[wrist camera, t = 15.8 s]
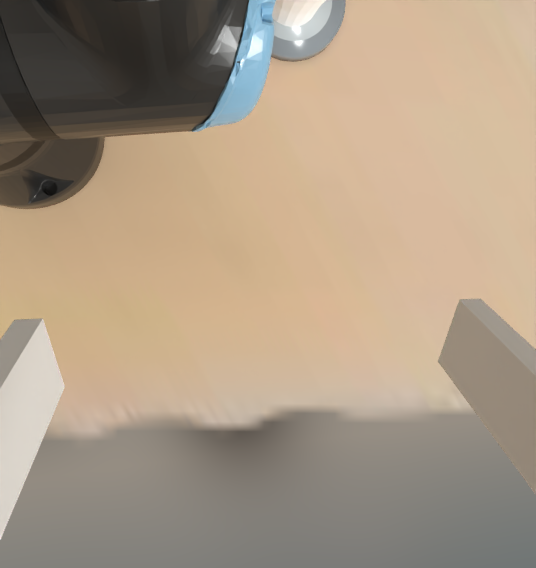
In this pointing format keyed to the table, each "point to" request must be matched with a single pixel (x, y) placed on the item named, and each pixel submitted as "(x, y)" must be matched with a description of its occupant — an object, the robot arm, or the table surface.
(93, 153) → the robot arm
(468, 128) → the table surface
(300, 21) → the cup
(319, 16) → the plate
